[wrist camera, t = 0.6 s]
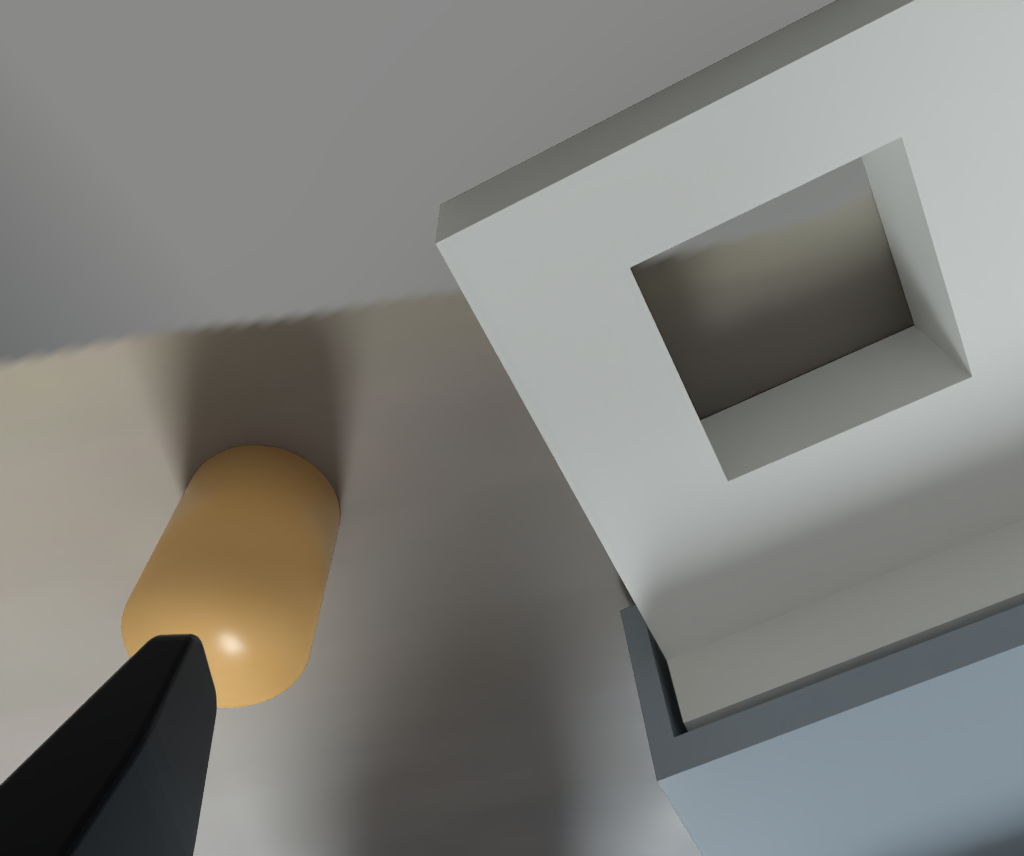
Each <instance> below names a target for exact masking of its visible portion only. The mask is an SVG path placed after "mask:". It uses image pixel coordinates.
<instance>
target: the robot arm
mask: <svg viewBox="0 0 1024 856" xmlns="http://www.w3.org/2000/svg"><path fill="white" fill-rule="evenodd" d="M216 709H217V697H216V690H215V686H214V683H213V679H212V675H211V672H210V668H209V665H208V661H207V658H206V654H205V650H204V647H203V644H202V642H201V640H200V639H199V637H198V636H196V635H193V634H168V635H157V636H155V637H153V638H151V639H150V640H149V641H147V642H146V643H145V644H144V645H143V646H142V647H141V648H140V649H139V650H138V651H137V652H136V653H135V654H134V655H133V656H132V657H131V658H130V659H129V660H128V661H127V662H126V663H125V664H124V665H123V666H122V667H121V668H120V669H119V670H118V671H117V672H116V673H115V674H114V675H113V676H111V677H110V678H109V679H108V680H107V681H106V682H105V683H104V684H103V685H102V686H101V687H100V688H99V689H98V690H97V691H96V692H95V693H94V694H93V695H92V696H91V697H90V698H89V699H88V700H87V701H86V702H85V703H84V704H83V705H82V706H81V707H80V708H79V709H78V710H77V711H76V712H75V713H74V714H73V715H72V716H71V717H69V718H68V719H67V720H66V721H65V722H64V723H63V724H62V725H61V726H60V727H59V728H58V729H57V730H56V731H55V732H54V733H53V734H52V735H51V736H50V737H49V738H48V739H47V740H46V741H45V742H44V743H43V744H42V745H41V746H40V747H39V748H38V749H37V750H36V751H35V752H34V753H33V754H32V755H31V756H30V757H29V758H27V759H26V760H25V761H24V762H23V763H22V764H21V765H20V766H19V767H18V768H17V769H16V770H15V771H14V772H13V773H12V774H11V775H10V776H9V777H8V778H7V779H6V780H5V781H4V782H3V783H2V784H1V785H0V856H193V852H194V847H195V841H196V835H197V829H198V823H199V817H200V811H201V805H202V798H203V792H204V786H205V780H206V774H207V768H208V762H209V755H210V749H211V743H212V737H213V731H214V725H215V718H216Z"/></svg>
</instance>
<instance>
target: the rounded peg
mask: <svg viewBox="0 0 1024 856" xmlns="http://www.w3.org/2000/svg"><path fill="white" fill-rule="evenodd" d="M339 525H340V507H339V503H338V499H337V496H336V494H335V491H334V489H333V487H332V486H331V484H330V482H329V481H328V480H327V478H326V477H325V476H324V475H323V474H322V473H321V472H320V471H319V470H318V469H317V468H316V467H315V466H314V465H312V464H311V463H310V462H309V461H307V460H305V459H304V458H302V457H300V456H299V455H296V454H294V453H292V452H290V451H287V450H284V449H280V448H276V447H271V446H263V445H246V446H239V447H235V448H231V449H228V450H225V451H223V452H220V453H218V454H216V455H215V456H213V457H211V458H210V459H208V460H207V461H206V462H205V463H203V464H202V465H201V466H200V468H199V469H198V470H197V471H196V472H195V474H194V475H193V477H192V479H191V481H190V482H189V484H188V486H187V488H186V490H185V492H184V494H183V496H182V498H181V500H180V502H179V504H178V505H177V507H176V509H175V511H174V513H173V515H172V517H171V519H170V521H169V523H168V525H167V527H166V529H165V530H164V532H163V534H162V536H161V538H160V540H159V542H158V544H157V546H156V548H155V550H154V552H153V553H152V555H151V557H150V559H149V561H148V563H147V565H146V567H145V569H144V571H143V573H142V575H141V576H140V578H139V580H138V582H137V584H136V586H135V588H134V590H133V592H132V594H131V596H130V598H129V600H128V602H127V604H126V606H125V608H124V612H123V616H122V625H121V628H122V637H123V641H124V645H125V648H126V650H127V652H128V655H129V656H130V658H131V657H132V656H133V655H134V654H135V653H136V652H137V651H138V650H139V649H140V648H141V647H142V646H143V645H144V644H145V643H146V642H147V641H149V640H150V639H151V638H153V637H155V636H157V635H168V634H193V635H196V636H198V637H199V639H200V640H201V642H202V644H203V647H204V650H205V654H206V658H207V661H208V665H209V668H210V672H211V675H212V679H213V683H214V686H215V690H216V697H217V707H223V708H229V707H243V706H249V705H253V704H258V703H261V702H264V701H266V700H269V699H271V698H273V697H275V696H277V695H279V694H281V693H282V692H284V691H285V690H287V689H288V688H289V687H290V686H291V685H292V684H293V683H295V681H296V680H297V679H298V678H299V677H300V675H301V674H302V672H303V670H304V669H305V667H306V665H307V662H308V660H309V656H310V652H311V647H312V643H313V638H314V634H315V630H316V625H317V621H318V617H319V612H320V608H321V604H322V599H323V595H324V590H325V586H326V582H327V577H328V573H329V569H330V564H331V560H332V556H333V551H334V547H335V543H336V538H337V534H338V529H339Z"/></svg>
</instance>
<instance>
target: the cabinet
mask: <svg viewBox="0 0 1024 856" xmlns="http://www.w3.org/2000/svg"><path fill="white" fill-rule="evenodd" d="M620 612H621V616H622V621H623V625H624V630H625V635H626V639H627V644H628V649H629V653H630V658H631V663H632V667H633V672H634V676H635V681H636V686H637V690H638V695H639V700H640V704H641V709H642V713H643V718H644V723H645V727H646V732H647V737H648V741H649V746H650V751H651V755H652V760H653V764H654V769H655V774H656V778H657V782H658V784H659V785H660V787H661V788H662V790H663V792H664V793H665V795H666V797H667V798H668V800H669V802H670V803H671V805H672V806H673V808H674V810H675V811H676V813H677V815H678V816H679V818H680V820H681V821H682V823H683V824H684V826H685V828H686V829H687V831H688V833H689V834H690V836H691V838H692V839H693V841H694V843H695V844H696V846H697V847H698V849H699V851H700V852H701V854H702V856H1024V604H1023V605H1020V606H1017V607H1015V608H1012V609H1009V610H1007V611H1004V612H1002V613H999V614H996V615H994V616H991V617H988V618H986V619H983V620H981V621H978V622H975V623H973V624H970V625H967V626H965V627H962V628H960V629H957V630H954V631H952V632H949V633H946V634H944V635H941V636H939V637H936V638H933V639H931V640H928V641H925V642H923V643H920V644H918V645H915V646H912V647H910V648H907V649H905V650H902V651H899V652H897V653H894V654H891V655H889V656H886V657H884V658H881V659H878V660H876V661H873V662H870V663H868V664H865V665H863V666H860V667H857V668H855V669H852V670H849V671H847V672H844V673H842V674H839V675H836V676H834V677H831V678H828V679H826V680H823V681H821V682H818V683H815V684H813V685H810V686H807V687H805V688H802V689H800V690H797V691H794V692H792V693H789V694H786V695H784V696H781V697H779V698H776V699H773V700H771V701H768V702H765V703H763V704H760V705H758V706H755V707H752V708H750V709H747V710H744V711H742V712H739V713H737V714H734V715H731V716H729V717H726V718H724V719H721V720H718V721H716V722H713V723H710V724H708V725H705V726H703V727H700V728H697V729H695V730H692V731H689V732H688V730H687V728H686V727H685V725H684V723H683V719H682V716H681V712H680V708H679V704H678V700H677V697H676V693H675V689H674V685H673V682H672V678H671V674H670V670H669V667H668V663H667V660H666V658H665V656H664V655H663V653H662V651H661V649H660V647H659V646H658V644H657V642H656V640H655V638H654V637H653V635H652V633H651V631H650V629H649V628H648V626H647V624H646V622H645V620H644V619H643V617H642V615H641V613H640V611H639V609H638V608H637V606H636V605H633V606H631V607H629V608H626V609H624V610H621V611H620Z"/></svg>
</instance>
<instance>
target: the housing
mask: <svg viewBox="0 0 1024 856" xmlns="http://www.w3.org/2000/svg"><path fill="white" fill-rule="evenodd" d="M859 157H861V159H862V162H863V165H864V168H865V171H866V174H867V177H868V181H869V184H870V187H871V190H872V193H873V196H874V199H875V203H876V206H877V209H878V212H879V215H880V218H881V221H882V225H883V228H884V231H885V234H886V237H887V240H888V243H889V247H890V250H891V253H892V256H893V259H894V262H895V265H896V269H897V272H898V275H899V278H900V281H901V284H902V287H903V291H904V294H905V297H906V300H907V303H908V306H909V309H910V313H911V316H912V319H913V322H914V326H912V327H910V328H907V329H905V330H903V331H901V332H898V333H896V334H894V335H892V336H889V337H887V338H885V339H883V340H880V341H878V342H876V343H874V344H871V345H869V346H867V347H865V348H862V349H860V350H858V351H856V352H853V353H851V354H849V355H847V356H844V357H842V358H840V359H838V360H835V361H833V362H831V363H829V364H826V365H824V366H822V367H820V368H817V369H815V370H813V371H811V372H808V373H806V374H804V375H802V376H799V377H797V378H795V379H793V380H790V381H788V382H786V383H784V384H781V385H779V386H777V387H775V388H772V389H770V390H768V391H766V392H763V393H761V394H759V395H757V396H754V397H752V398H750V399H748V400H745V401H743V402H741V403H739V404H736V405H734V406H732V407H729V408H727V409H725V410H723V411H720V412H718V413H716V414H714V415H711V416H709V417H707V418H705V419H702V420H699V417H698V415H697V413H696V411H695V409H694V407H693V404H692V402H691V400H690V398H689V396H688V393H687V391H686V389H685V387H684V385H683V383H682V380H681V378H680V376H679V374H678V372H677V370H676V367H675V365H674V363H673V361H672V359H671V356H670V354H669V352H668V350H667V348H666V346H665V343H664V341H663V339H662V337H661V335H660V332H659V330H658V328H657V326H656V324H655V322H654V319H653V317H652V315H651V313H650V311H649V309H648V306H647V304H646V302H645V300H644V298H643V295H642V293H641V291H640V289H639V287H638V285H637V282H636V280H635V278H634V276H633V274H632V271H631V269H630V268H631V267H633V266H635V265H637V264H639V263H641V262H643V261H645V260H647V259H649V258H651V257H653V256H656V255H658V254H660V253H662V252H664V251H666V250H668V249H670V248H672V247H674V246H676V245H678V244H680V243H682V242H684V241H686V240H688V239H691V238H693V237H695V236H697V235H699V234H701V233H703V232H705V231H707V230H709V229H711V228H713V227H716V226H718V225H720V224H722V223H724V222H726V221H728V220H730V219H732V218H734V217H736V216H738V215H740V214H743V213H745V212H747V211H749V210H751V209H753V208H755V207H757V206H759V205H761V204H763V203H765V202H767V201H769V200H772V199H774V198H776V197H778V196H780V195H782V194H784V193H786V192H788V191H790V190H792V189H794V188H797V187H799V186H801V185H803V184H805V183H807V182H809V181H811V180H813V179H815V178H817V177H819V176H821V175H823V174H826V173H827V172H830V171H832V170H834V169H836V168H838V167H840V166H842V165H844V164H846V163H848V162H850V161H852V160H854V159H857V158H859ZM436 245H437V247H438V249H439V251H440V253H441V254H442V256H443V258H444V260H445V262H446V263H447V265H448V267H449V269H450V271H451V273H452V274H453V276H454V278H455V280H456V282H457V283H458V285H459V287H460V289H461V291H462V292H463V294H464V296H465V298H466V300H467V301H468V303H469V305H470V307H471V309H472V310H473V312H474V314H475V316H476V318H477V319H478V321H479V323H480V325H481V327H482V328H483V330H484V332H485V334H486V336H487V337H488V339H489V341H490V343H491V345H492V346H493V348H494V350H495V352H496V354H497V355H498V357H499V359H500V361H501V363H502V364H503V366H504V368H505V370H506V372H507V373H508V375H509V377H510V379H511V381H512V382H513V384H514V386H515V388H516V390H517V391H518V393H519V395H520V397H521V399H522V400H523V402H524V404H525V406H526V408H527V409H528V411H529V413H530V415H531V417H532V418H533V420H534V422H535V424H536V426H537V427H538V429H539V431H540V433H541V435H542V436H543V438H544V440H545V442H546V444H547V446H548V447H549V449H550V451H551V453H552V455H553V456H554V458H555V460H556V462H557V464H558V465H559V467H560V469H561V471H562V473H563V474H564V476H565V478H566V480H567V482H568V483H569V485H570V487H571V489H572V491H573V492H574V494H575V496H576V498H577V500H578V501H579V503H580V505H581V507H582V509H583V510H584V512H585V514H586V516H587V518H588V519H589V521H590V523H591V525H592V527H593V528H594V530H595V532H596V534H597V536H598V537H599V539H600V541H601V543H602V545H603V546H604V548H605V550H606V552H607V554H608V555H609V557H610V559H611V561H612V563H613V564H614V566H615V568H616V570H617V572H618V573H619V575H620V577H621V579H622V581H623V582H624V584H625V586H626V588H627V590H628V591H629V593H630V595H631V597H632V599H633V600H634V602H635V604H636V606H637V608H638V609H639V611H640V613H641V615H642V617H643V619H644V620H645V622H646V624H647V626H648V628H649V629H650V631H651V633H652V635H653V637H654V638H655V640H656V642H657V644H658V646H659V647H660V649H661V651H662V653H663V655H664V656H665V658H666V660H667V663H668V667H669V670H670V674H671V678H672V682H673V685H674V689H675V693H676V697H677V700H678V704H679V708H680V712H681V716H682V719H683V723H684V725H685V727H686V728H687V730H688V732H689V731H692V730H695V729H697V728H700V727H703V726H705V725H708V724H710V723H713V722H716V721H718V720H721V719H724V718H726V717H729V716H731V715H734V714H737V713H739V712H742V711H744V710H747V709H750V708H752V707H755V706H758V705H760V704H763V703H765V702H768V701H771V700H773V699H776V698H779V697H781V696H784V695H786V694H789V693H792V692H794V691H797V690H800V689H802V688H805V687H807V686H810V685H813V684H815V683H818V682H821V681H823V680H826V679H828V678H831V677H834V676H836V675H839V674H842V673H844V672H847V671H849V670H852V669H855V668H857V667H860V666H863V665H865V664H868V663H870V662H873V661H876V660H878V659H881V658H884V657H886V656H889V655H891V654H894V653H897V652H899V651H902V650H905V649H907V648H910V647H912V646H915V645H918V644H920V643H923V642H925V641H928V640H931V639H933V638H936V637H939V636H941V635H944V634H946V633H949V632H952V631H954V630H957V629H960V628H962V627H965V626H967V625H970V624H973V623H975V622H978V621H981V620H983V619H986V618H988V617H991V616H994V615H996V614H999V613H1002V612H1004V611H1007V610H1009V609H1012V608H1015V607H1017V606H1020V605H1023V604H1024V0H836V1H835V2H833V3H831V4H829V5H827V6H825V7H823V8H821V9H819V10H817V11H815V12H813V13H811V14H809V15H808V16H805V17H804V18H802V19H800V20H798V21H796V22H794V23H792V24H790V25H788V26H786V27H784V28H783V29H780V30H778V31H776V32H774V33H772V34H771V35H769V36H767V37H765V38H763V39H761V40H759V41H757V42H755V43H753V44H751V45H749V46H747V47H745V48H743V49H741V50H740V51H738V52H736V53H734V54H732V55H730V56H728V57H726V58H724V59H722V60H720V61H718V62H716V63H714V64H713V65H710V66H708V67H707V68H705V69H703V70H701V71H699V72H697V73H695V74H693V75H691V76H689V77H687V78H685V79H683V80H681V81H679V82H678V83H676V84H674V85H672V86H670V87H668V88H666V89H664V90H662V91H660V92H658V93H656V94H654V95H652V96H650V97H648V98H647V99H644V100H643V101H641V102H639V103H637V104H635V105H633V106H631V107H629V108H628V109H625V110H623V111H621V112H619V113H618V114H615V115H614V116H612V117H610V118H608V119H606V120H604V121H602V122H600V123H598V124H596V125H594V126H592V127H590V128H588V129H586V130H584V131H582V132H581V133H579V134H577V135H575V136H573V137H571V138H569V139H567V140H565V141H563V142H561V143H559V144H557V145H555V146H554V147H551V148H550V149H548V150H546V151H544V152H542V153H540V154H538V155H536V156H534V157H532V158H530V159H528V160H526V161H524V162H522V163H520V164H519V165H517V166H515V167H513V168H511V169H509V170H507V171H505V172H503V173H501V174H499V175H497V176H495V177H493V178H491V179H490V180H487V181H486V182H484V183H482V184H480V185H478V186H476V187H474V188H472V189H470V190H468V191H466V192H464V193H462V194H460V195H459V196H457V197H455V198H453V199H451V200H449V201H447V202H445V203H443V204H441V205H440V213H439V220H438V228H437V236H436Z"/></svg>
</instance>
